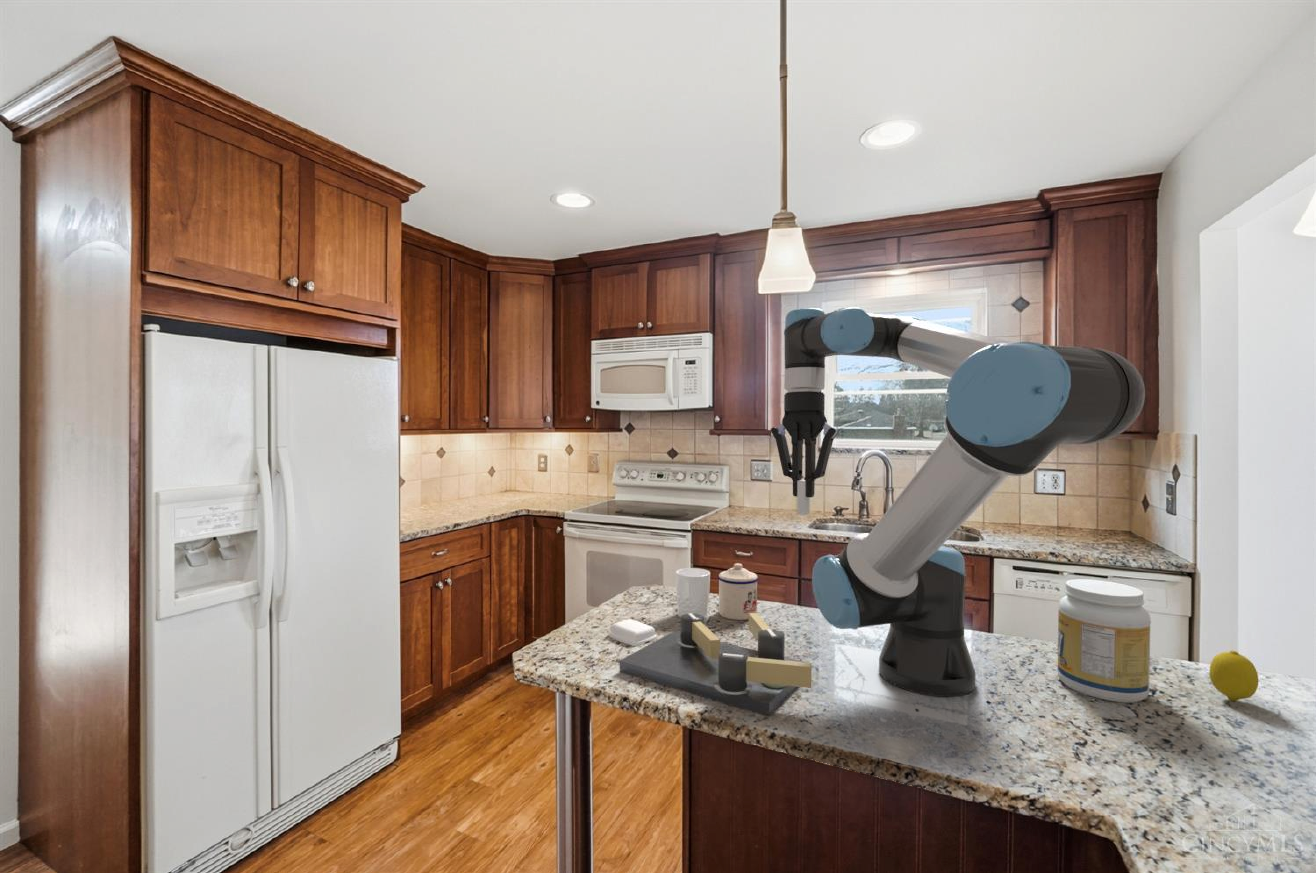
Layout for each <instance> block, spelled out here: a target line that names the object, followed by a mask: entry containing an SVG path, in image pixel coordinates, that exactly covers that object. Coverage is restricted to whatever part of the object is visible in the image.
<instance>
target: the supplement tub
mask: <svg viewBox="0 0 1316 873" xmlns="http://www.w3.org/2000/svg"><path fill="white" fill-rule="evenodd" d="M1063 592H1064V593H1065V596H1063V597H1061V598H1060V600H1059V602H1058V605H1057V606H1058V607H1057V609H1058V615H1057V616H1058V620H1057V622H1058V623H1057V624H1058V626H1057V628H1058V629H1057V630H1058V631H1057V635H1058V637H1057V669H1056V670H1057V675H1058V678H1059V679H1060V681H1061V682H1062V683H1063V684H1064V685H1066V687H1068V688H1070V689H1072V690H1073V691H1075V692H1078V693H1081V694H1083V695H1086V696H1089V697H1093V698H1097V699H1099V700H1100V699H1101V700H1106V701H1111V702H1114V703H1115V702H1117V703H1137V702H1140V701H1144V700H1145V699H1146V698H1147V697H1148V696H1149V694H1150V690H1151V689H1150V670H1151V668H1150V663H1151V661H1150V660H1151V656H1150V655H1151V624H1152V621H1151V620H1152V619H1151V616H1150V614H1149V612H1148V610H1146V608H1145V607H1143V606H1144V604H1145V600H1144V592H1143V591H1142V590H1141V589H1139V588H1137V587H1134V586H1130V585H1127V584H1123V583H1120V582H1119V583H1118V582H1114V581H1107V580H1101V579H1090V578H1088V579H1087V578H1080V579H1079V578H1078V579H1077V578H1075V579H1068V580H1067V581H1066V582H1065V588H1064V591H1063Z"/></svg>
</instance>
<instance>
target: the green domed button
mask: <svg viewBox="0 0 1316 873" xmlns="http://www.w3.org/2000/svg"><path fill="white" fill-rule="evenodd" d="M763 684H764V685H765V686H768V687H771V688H783V687H786V686H787V685H778V684H768V683H763Z"/></svg>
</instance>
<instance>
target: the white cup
mask: <svg viewBox="0 0 1316 873" xmlns="http://www.w3.org/2000/svg"><path fill="white" fill-rule="evenodd" d="M710 583H711V572H710V570H707V569H704V568H698V567H685V568H680V569H677V570H676V571H675V585H676V586H675V592H676V604H677V616H678V617H679V618H680V617H681V616H682V615H684V614H688V613H692V614H699V615H702V616H704V617H705V619H706V618H707V617H708V616H709V615H708V611H709V610H708V609H709V601H710V588H711V587H710V586H711V585H710Z"/></svg>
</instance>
